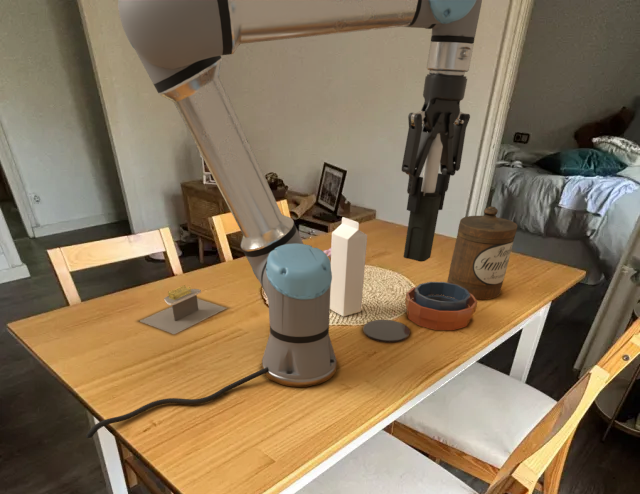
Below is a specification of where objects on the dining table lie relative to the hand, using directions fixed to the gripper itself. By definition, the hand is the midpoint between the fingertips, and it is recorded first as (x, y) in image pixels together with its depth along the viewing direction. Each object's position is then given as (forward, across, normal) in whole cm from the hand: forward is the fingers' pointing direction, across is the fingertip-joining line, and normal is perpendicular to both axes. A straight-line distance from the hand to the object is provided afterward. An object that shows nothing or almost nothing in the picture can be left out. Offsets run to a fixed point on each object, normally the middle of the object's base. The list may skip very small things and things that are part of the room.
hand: (424, 209), depth 101 cm
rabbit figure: (+27, +11, +49) cm, 57 cm away
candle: (+10, 0, 0) cm, 10 cm away
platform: (+28, -45, +31) cm, 61 cm away
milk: (+27, -8, +14) cm, 32 cm away
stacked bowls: (+26, +11, 0) cm, 28 cm away
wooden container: (+26, +32, +9) cm, 42 cm away
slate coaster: (+26, -6, -1) cm, 27 cm away
